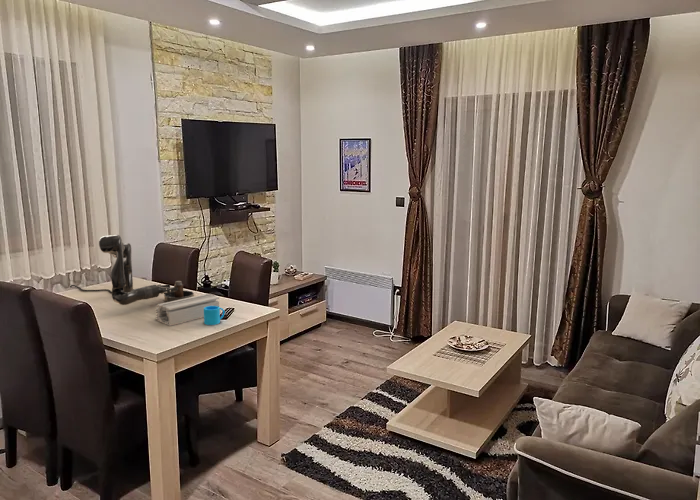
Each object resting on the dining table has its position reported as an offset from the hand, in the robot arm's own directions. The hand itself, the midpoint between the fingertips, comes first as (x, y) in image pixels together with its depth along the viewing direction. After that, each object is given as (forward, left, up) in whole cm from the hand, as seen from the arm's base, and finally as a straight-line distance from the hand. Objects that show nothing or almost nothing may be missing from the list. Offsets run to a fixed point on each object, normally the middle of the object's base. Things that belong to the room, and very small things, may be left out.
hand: (173, 287), depth 305 cm
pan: (+1, +3, -8) cm, 9 cm away
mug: (+48, -22, -9) cm, 53 cm away
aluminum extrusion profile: (+29, -21, -9) cm, 37 cm away
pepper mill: (+1, +3, -8) cm, 9 cm away
